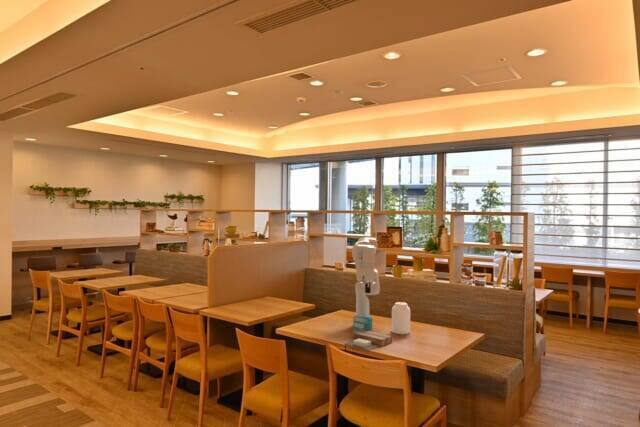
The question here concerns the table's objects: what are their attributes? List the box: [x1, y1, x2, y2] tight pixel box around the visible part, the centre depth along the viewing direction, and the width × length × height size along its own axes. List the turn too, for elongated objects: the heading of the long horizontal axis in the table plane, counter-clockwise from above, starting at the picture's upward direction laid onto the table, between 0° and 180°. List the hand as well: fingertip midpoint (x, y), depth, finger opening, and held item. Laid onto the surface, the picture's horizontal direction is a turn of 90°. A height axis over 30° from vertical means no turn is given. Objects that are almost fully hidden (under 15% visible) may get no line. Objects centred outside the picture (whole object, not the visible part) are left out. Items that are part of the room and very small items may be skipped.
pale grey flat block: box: [352, 338, 371, 348], centre depth 266 cm, size 6×9×2 cm, turn 50°
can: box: [390, 301, 411, 335], centre depth 297 cm, size 12×12×20 cm
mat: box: [344, 340, 381, 351], centre depth 266 cm, size 12×18×1 cm, turn 49°
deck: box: [354, 330, 393, 347], centre depth 275 cm, size 12×20×4 cm, turn 49°
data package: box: [352, 314, 373, 334], centre depth 291 cm, size 12×4×12 cm, turn 60°
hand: (367, 292), depth 285 cm, fingers closed
